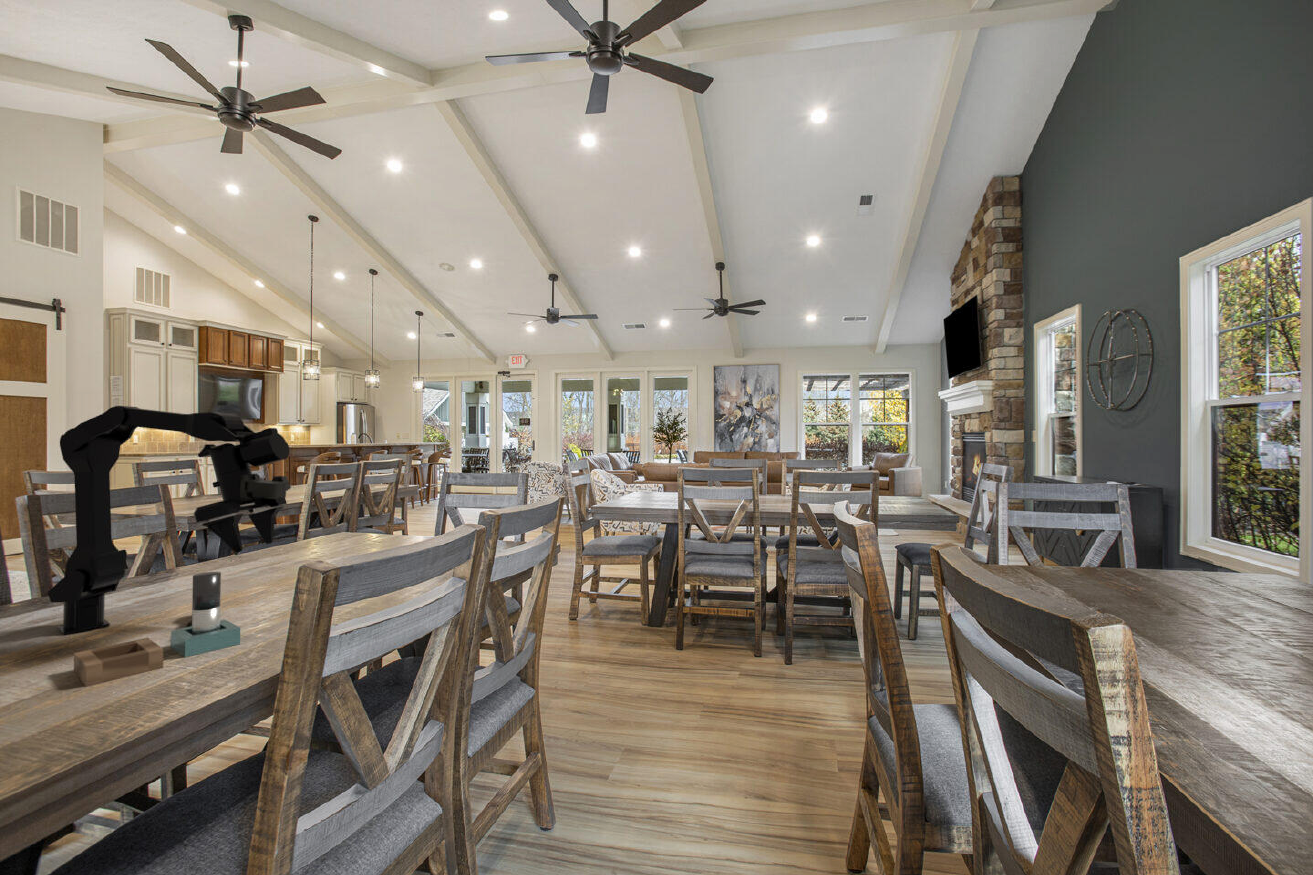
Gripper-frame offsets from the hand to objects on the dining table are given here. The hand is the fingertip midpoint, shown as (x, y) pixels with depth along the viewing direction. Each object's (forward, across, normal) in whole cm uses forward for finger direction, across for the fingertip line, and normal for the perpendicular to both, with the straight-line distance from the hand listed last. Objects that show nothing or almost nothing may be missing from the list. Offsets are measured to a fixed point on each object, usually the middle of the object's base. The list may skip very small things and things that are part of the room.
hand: (255, 547), depth 113 cm
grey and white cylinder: (+15, -11, +6) cm, 19 cm away
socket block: (+15, -11, +6) cm, 19 cm away
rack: (+13, -21, +12) cm, 28 cm away
